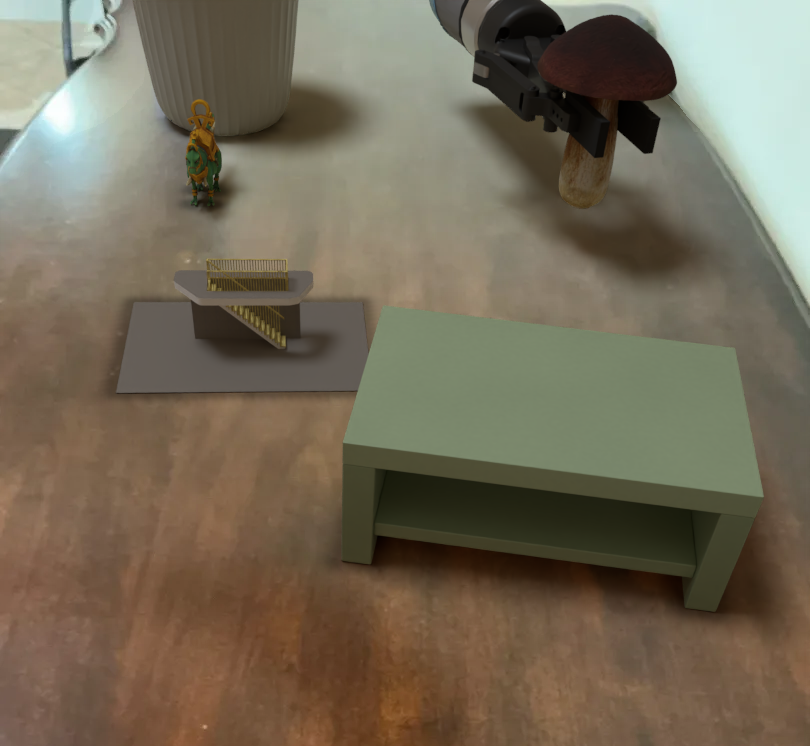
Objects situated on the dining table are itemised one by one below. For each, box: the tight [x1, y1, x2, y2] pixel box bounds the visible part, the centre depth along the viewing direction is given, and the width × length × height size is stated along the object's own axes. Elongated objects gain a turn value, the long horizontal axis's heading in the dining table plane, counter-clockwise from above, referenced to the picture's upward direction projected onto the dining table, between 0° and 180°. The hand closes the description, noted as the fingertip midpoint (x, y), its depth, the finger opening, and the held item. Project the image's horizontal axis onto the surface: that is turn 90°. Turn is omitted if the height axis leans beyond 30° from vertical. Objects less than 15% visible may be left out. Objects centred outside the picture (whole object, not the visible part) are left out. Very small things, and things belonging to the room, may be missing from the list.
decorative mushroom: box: [537, 14, 678, 210], centre depth 79 cm, size 11×11×15 cm
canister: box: [131, 0, 299, 137], centre depth 96 cm, size 18×18×21 cm
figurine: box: [184, 99, 223, 207], centre depth 88 cm, size 3×12×8 cm, turn 179°
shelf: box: [340, 304, 765, 613], centre depth 59 cm, size 22×14×9 cm, turn 82°
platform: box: [115, 258, 369, 394], centre depth 71 cm, size 12×18×7 cm, turn 95°
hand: (627, 137), depth 75 cm, fingers closed on decorative mushroom, 4 cm apart
